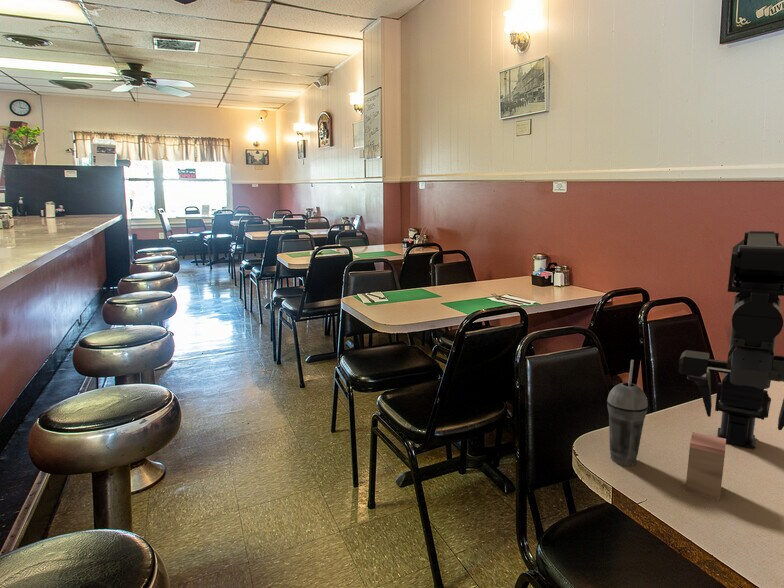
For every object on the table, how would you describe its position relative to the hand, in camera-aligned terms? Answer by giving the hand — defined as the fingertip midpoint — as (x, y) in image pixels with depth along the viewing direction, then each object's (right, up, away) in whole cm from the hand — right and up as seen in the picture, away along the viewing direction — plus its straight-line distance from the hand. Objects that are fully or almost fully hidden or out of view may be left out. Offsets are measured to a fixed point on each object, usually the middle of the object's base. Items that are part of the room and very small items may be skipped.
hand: (743, 422), depth 79 cm
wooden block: (-2, -14, +8) cm, 16 cm away
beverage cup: (-11, -12, +18) cm, 24 cm away
